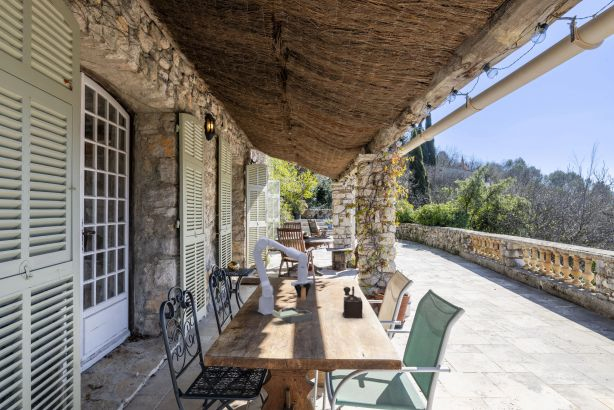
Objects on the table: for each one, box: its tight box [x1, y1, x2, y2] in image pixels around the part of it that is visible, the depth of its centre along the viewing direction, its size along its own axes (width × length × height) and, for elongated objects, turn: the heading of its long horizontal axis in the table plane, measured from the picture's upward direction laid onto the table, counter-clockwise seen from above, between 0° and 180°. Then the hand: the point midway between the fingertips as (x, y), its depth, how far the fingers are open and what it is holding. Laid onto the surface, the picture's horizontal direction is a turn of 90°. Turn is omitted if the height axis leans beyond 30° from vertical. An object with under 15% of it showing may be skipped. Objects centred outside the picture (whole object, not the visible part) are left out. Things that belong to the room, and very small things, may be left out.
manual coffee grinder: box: [342, 286, 364, 319], centre depth 199 cm, size 16×11×18 cm
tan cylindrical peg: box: [298, 286, 307, 301], centre depth 207 cm, size 4×4×7 cm
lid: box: [272, 309, 298, 319], centre depth 188 cm, size 7×12×3 cm, turn 124°
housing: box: [280, 306, 314, 324], centre depth 196 cm, size 16×14×4 cm
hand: (302, 296), depth 207 cm, fingers closed on tan cylindrical peg, 4 cm apart
